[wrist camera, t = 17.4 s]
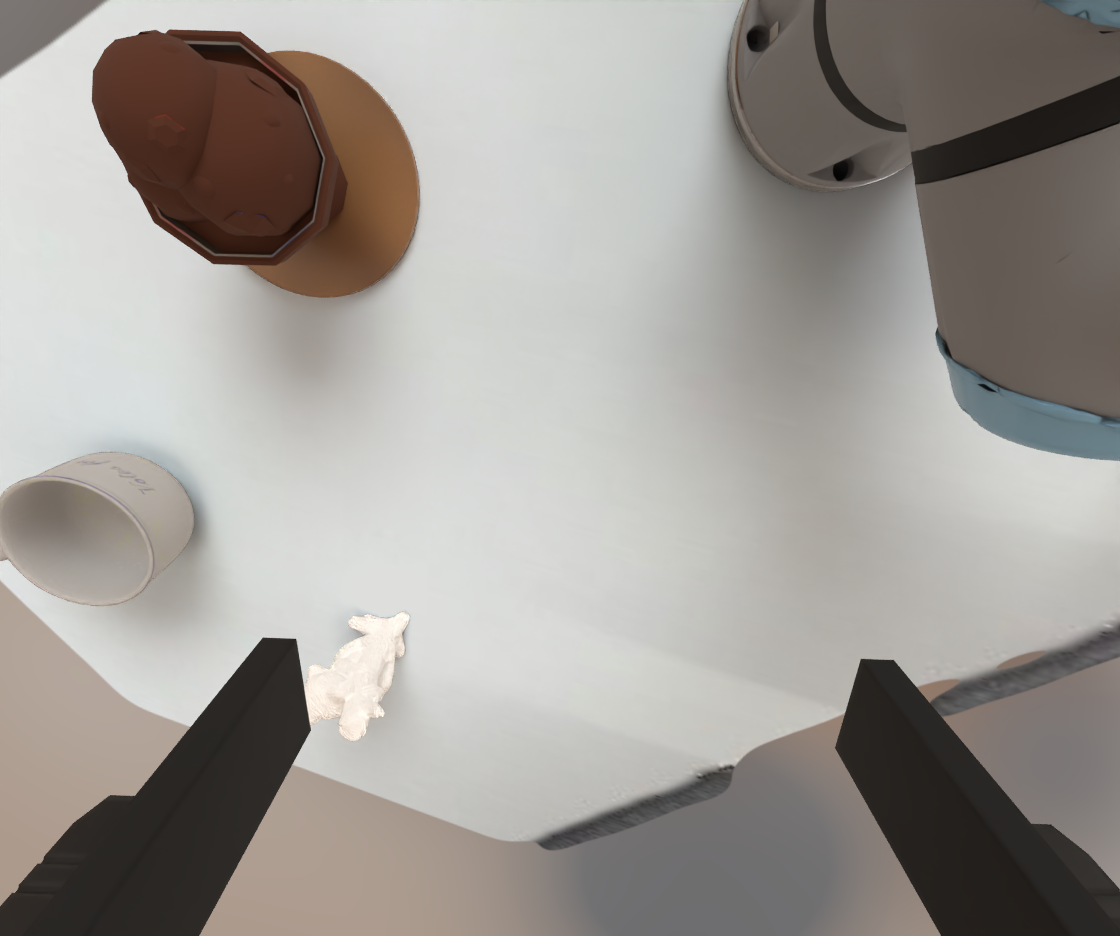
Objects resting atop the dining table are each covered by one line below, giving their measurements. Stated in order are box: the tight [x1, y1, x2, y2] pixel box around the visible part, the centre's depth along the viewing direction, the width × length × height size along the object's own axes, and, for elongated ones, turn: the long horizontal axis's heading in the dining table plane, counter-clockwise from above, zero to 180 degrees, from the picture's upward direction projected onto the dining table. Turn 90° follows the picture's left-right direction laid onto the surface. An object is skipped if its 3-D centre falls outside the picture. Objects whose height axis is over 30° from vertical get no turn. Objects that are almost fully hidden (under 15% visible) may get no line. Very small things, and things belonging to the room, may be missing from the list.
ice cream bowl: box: [92, 30, 348, 266], centre depth 30 cm, size 11×11×15 cm
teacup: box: [0, 452, 194, 606], centre depth 42 cm, size 14×11×8 cm
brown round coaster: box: [247, 51, 419, 298], centre depth 37 cm, size 15×15×1 cm
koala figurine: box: [304, 612, 410, 741], centre depth 45 cm, size 8×7×12 cm
